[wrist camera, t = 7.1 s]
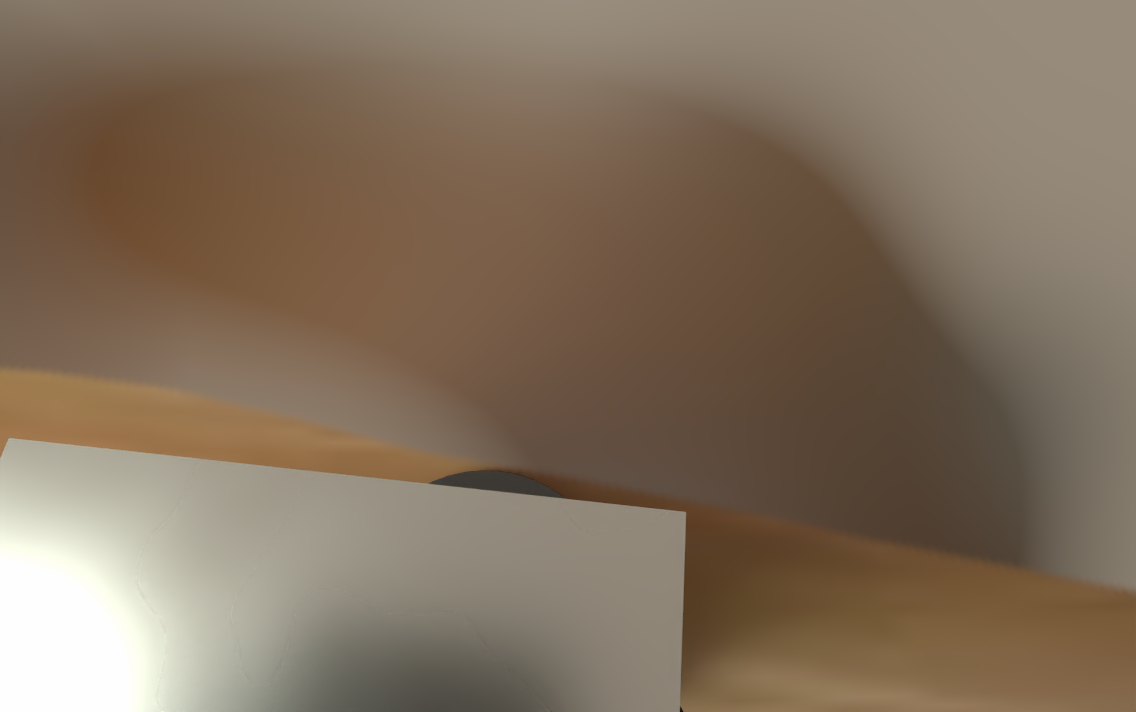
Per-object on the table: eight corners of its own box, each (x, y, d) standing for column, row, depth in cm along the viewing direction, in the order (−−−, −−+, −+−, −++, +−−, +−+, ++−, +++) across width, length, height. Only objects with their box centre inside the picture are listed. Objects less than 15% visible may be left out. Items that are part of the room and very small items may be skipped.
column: (555, 750, 14) (660, 1635, 3) (348, 730, 14) (-484, 1568, 2) (574, 535, 16) (693, 505, 4) (389, 515, 15) (5, 431, 4)
